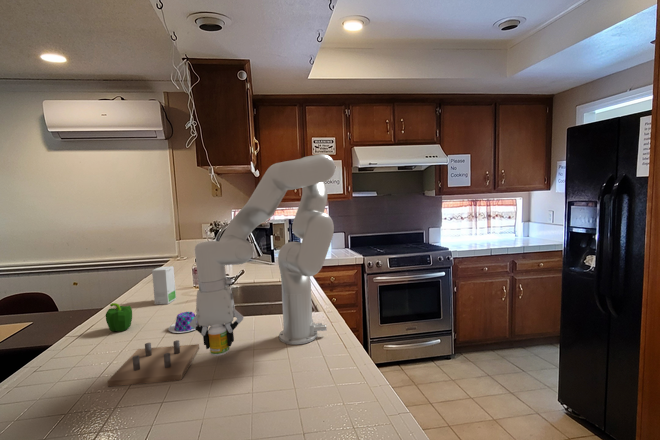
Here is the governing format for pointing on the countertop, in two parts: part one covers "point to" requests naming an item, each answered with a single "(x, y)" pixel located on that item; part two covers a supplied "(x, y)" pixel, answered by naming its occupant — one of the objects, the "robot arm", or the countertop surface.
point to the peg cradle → (155, 365)
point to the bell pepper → (119, 317)
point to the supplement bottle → (218, 339)
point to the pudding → (182, 323)
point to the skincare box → (164, 285)
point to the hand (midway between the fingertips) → (219, 344)
